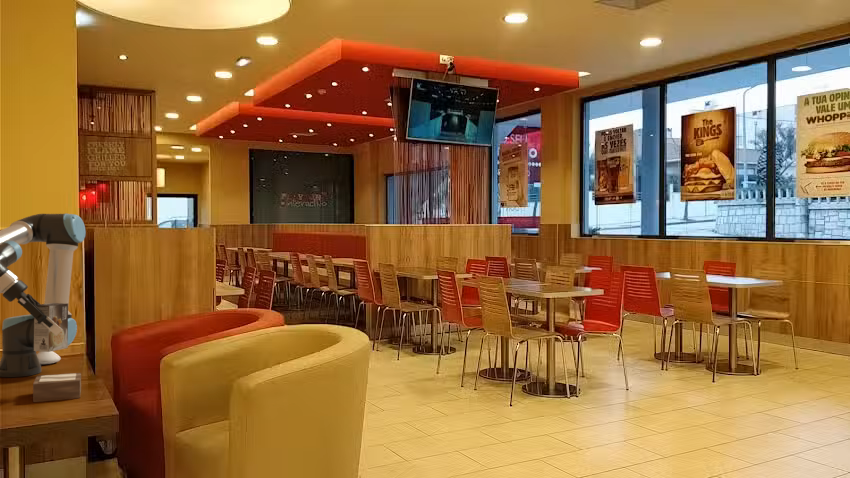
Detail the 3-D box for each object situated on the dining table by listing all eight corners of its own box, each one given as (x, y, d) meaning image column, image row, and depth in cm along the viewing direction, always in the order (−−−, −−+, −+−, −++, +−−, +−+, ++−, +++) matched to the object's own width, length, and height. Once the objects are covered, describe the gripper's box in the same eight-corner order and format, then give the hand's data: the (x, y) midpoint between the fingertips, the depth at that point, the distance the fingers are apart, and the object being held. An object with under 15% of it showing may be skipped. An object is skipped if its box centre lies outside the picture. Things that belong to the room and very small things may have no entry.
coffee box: (52, 347, 247) (53, 302, 247) (68, 348, 245) (69, 303, 245) (32, 351, 238) (33, 304, 238) (48, 352, 236) (49, 305, 236)
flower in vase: (58, 365, 292) (58, 306, 292) (28, 366, 288) (28, 307, 288) (63, 359, 304) (63, 303, 304) (33, 361, 300) (33, 304, 300)
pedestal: (36, 393, 243) (36, 375, 243) (81, 389, 249) (81, 372, 249) (33, 402, 230) (33, 383, 230) (79, 398, 236) (79, 379, 236)
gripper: (6, 292, 246) (55, 334, 252) (-5, 297, 225) (48, 342, 231) (24, 277, 248) (71, 319, 254) (14, 280, 227) (66, 326, 233)
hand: (60, 330), depth 243 cm, fingers closed on coffee box, 10 cm apart
